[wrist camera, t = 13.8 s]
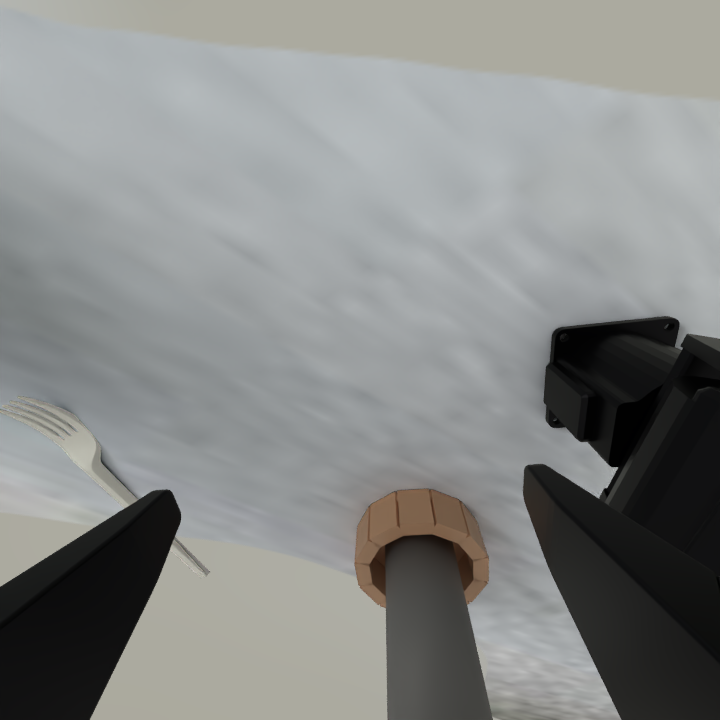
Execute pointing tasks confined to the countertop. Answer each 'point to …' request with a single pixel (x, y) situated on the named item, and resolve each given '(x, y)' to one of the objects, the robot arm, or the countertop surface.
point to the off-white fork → (87, 458)
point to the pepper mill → (430, 635)
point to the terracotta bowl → (419, 517)
